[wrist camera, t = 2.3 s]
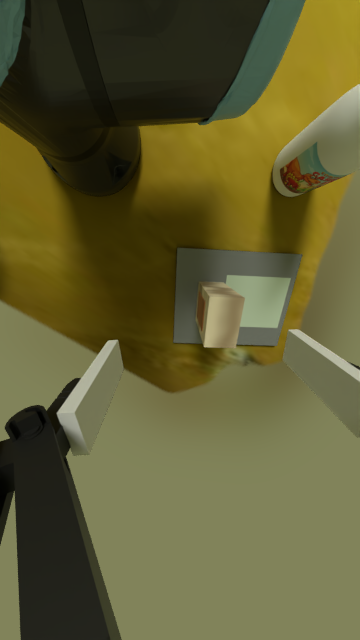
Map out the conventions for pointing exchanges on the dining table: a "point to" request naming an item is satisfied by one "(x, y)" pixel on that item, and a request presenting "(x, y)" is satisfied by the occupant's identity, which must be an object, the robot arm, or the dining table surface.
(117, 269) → the dining table surface
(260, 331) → the topple mat
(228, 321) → the maple block
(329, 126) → the milk bottle
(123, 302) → the dining table surface
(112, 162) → the robot arm
